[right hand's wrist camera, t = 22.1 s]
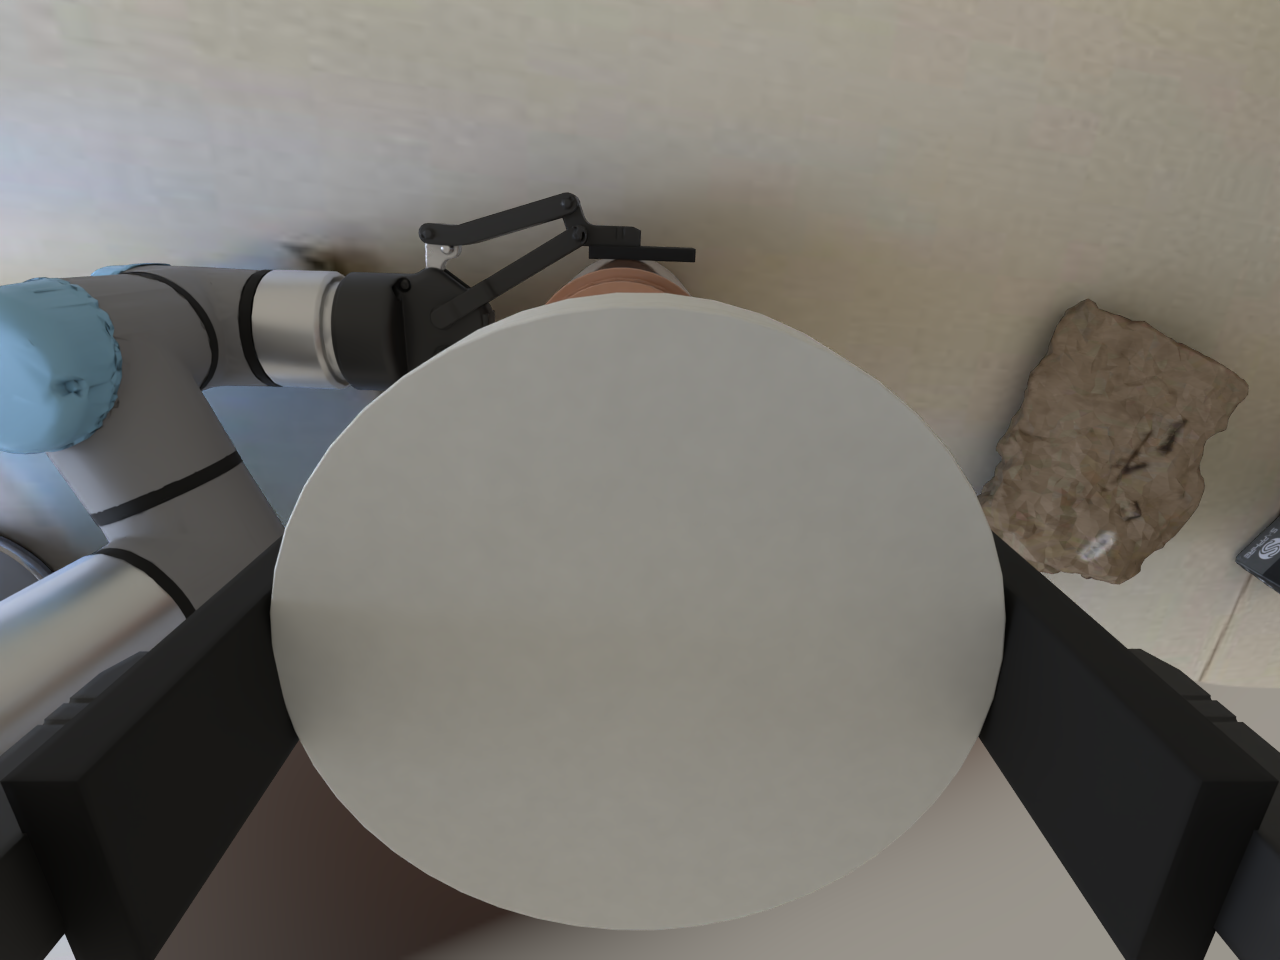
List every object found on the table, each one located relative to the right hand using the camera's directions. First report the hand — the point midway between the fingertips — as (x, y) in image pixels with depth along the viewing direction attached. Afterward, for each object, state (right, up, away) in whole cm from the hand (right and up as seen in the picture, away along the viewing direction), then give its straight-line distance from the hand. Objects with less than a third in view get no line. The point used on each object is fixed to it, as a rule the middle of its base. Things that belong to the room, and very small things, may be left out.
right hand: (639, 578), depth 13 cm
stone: (+34, +5, +41) cm, 53 cm away
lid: (0, -1, -3) cm, 3 cm away
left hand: (+3, +11, +32) cm, 34 cm away
